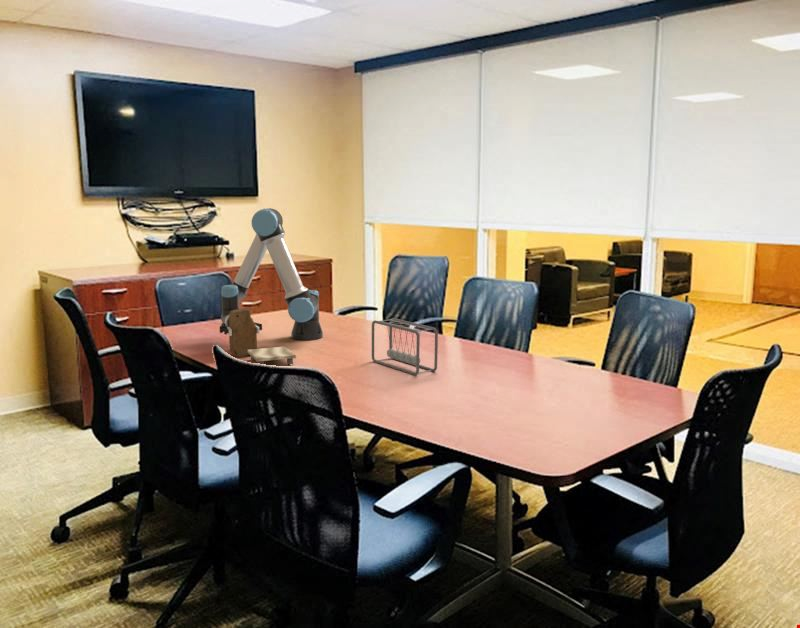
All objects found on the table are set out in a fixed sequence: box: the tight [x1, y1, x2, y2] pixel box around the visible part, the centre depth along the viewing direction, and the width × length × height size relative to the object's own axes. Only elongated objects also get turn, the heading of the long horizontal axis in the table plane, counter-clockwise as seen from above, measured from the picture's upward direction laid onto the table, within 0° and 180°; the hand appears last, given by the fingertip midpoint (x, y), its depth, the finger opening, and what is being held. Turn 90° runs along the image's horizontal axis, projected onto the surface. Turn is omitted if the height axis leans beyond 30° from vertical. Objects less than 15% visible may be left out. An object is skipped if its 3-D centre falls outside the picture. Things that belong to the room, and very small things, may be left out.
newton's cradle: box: [371, 317, 439, 376], centre depth 276 cm, size 30×10×18 cm, turn 39°
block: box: [228, 308, 258, 358], centre depth 293 cm, size 11×8×20 cm
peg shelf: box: [248, 346, 297, 365], centre depth 283 cm, size 16×17×4 cm
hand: (244, 331), depth 289 cm, fingers closed on block, 11 cm apart
